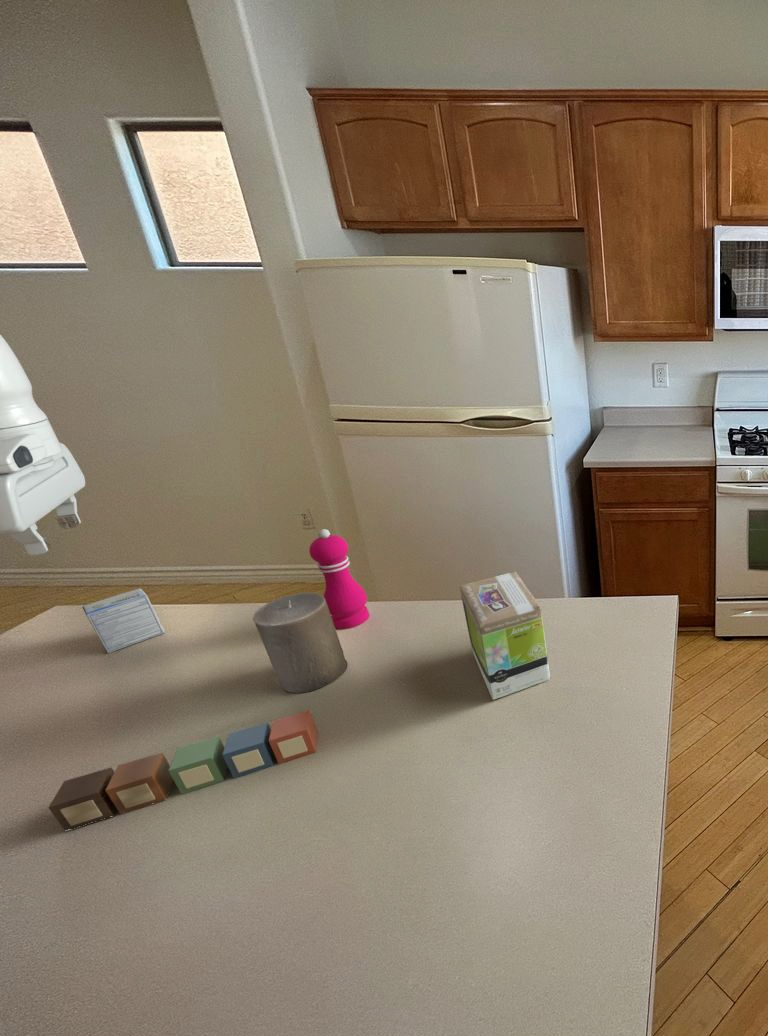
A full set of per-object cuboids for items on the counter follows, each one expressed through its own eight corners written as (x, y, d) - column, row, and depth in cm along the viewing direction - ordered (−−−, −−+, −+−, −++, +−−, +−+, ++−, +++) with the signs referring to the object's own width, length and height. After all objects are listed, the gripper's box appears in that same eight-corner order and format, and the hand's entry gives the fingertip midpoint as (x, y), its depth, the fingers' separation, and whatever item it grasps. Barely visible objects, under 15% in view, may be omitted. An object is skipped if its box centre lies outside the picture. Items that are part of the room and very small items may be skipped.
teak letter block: (120, 815, 70) (104, 791, 68) (132, 789, 74) (117, 765, 72) (165, 800, 72) (151, 776, 70) (175, 775, 76) (162, 752, 74)
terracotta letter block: (278, 764, 78) (268, 741, 76) (282, 742, 81) (272, 720, 80) (315, 752, 80) (306, 729, 78) (318, 732, 83) (309, 709, 82)
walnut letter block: (64, 833, 68) (47, 808, 66) (80, 805, 72) (64, 780, 70) (113, 817, 70) (97, 793, 68) (126, 790, 74) (111, 767, 72)
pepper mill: (333, 614, 112) (304, 524, 103) (374, 607, 114) (348, 519, 106) (326, 634, 106) (294, 540, 97) (369, 625, 108) (342, 534, 100)
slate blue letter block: (233, 779, 75) (221, 755, 74) (239, 756, 79) (228, 733, 77) (273, 766, 77) (262, 743, 76) (277, 744, 81) (267, 721, 79)
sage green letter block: (181, 795, 73) (167, 771, 71) (190, 770, 77) (177, 747, 75) (223, 781, 75) (211, 758, 73) (230, 758, 79) (219, 735, 77)
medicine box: (159, 625, 108) (141, 587, 104) (166, 633, 105) (147, 594, 102) (102, 645, 102) (80, 605, 98) (108, 654, 99) (85, 614, 96)
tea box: (552, 679, 95) (542, 606, 88) (492, 702, 89) (476, 627, 83) (526, 635, 106) (515, 568, 100) (471, 653, 101) (456, 584, 95)
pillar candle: (353, 652, 101) (330, 581, 94) (338, 687, 92) (312, 612, 86) (291, 662, 98) (263, 590, 92) (270, 699, 89) (237, 622, 83)
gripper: (14, 429, 80) (59, 516, 86) (-79, 470, 64) (-16, 574, 69) (75, 425, 83) (115, 509, 88) (1, 463, 67) (55, 563, 72)
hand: (57, 538), depth 79 cm, fingers open, 8 cm apart
